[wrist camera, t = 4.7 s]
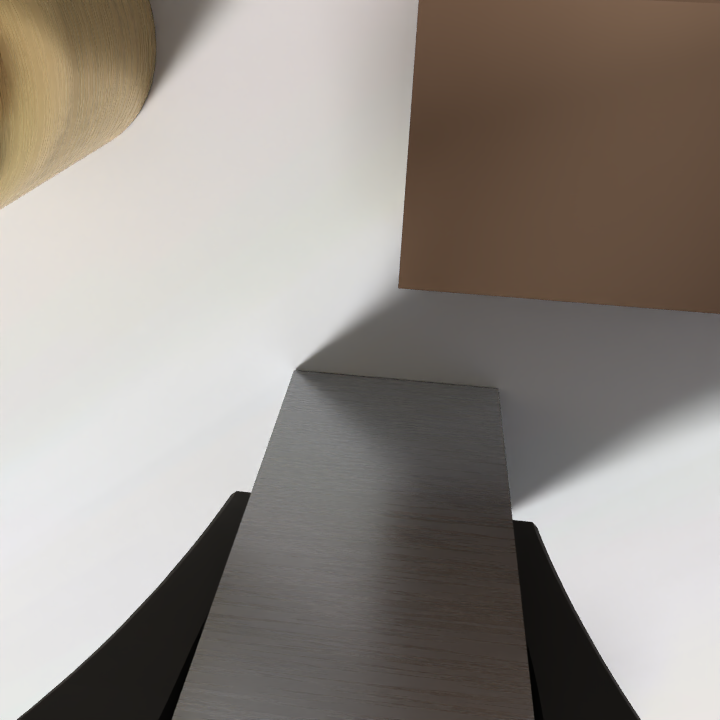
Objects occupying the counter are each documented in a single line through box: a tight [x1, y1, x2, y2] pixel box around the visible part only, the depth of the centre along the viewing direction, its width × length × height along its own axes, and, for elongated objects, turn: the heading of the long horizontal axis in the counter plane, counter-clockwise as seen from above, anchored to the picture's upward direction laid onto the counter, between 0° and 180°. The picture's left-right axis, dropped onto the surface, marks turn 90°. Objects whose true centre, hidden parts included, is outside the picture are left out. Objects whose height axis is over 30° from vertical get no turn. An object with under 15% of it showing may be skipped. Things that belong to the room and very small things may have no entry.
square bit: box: [172, 370, 534, 720], centre depth 11 cm, size 4×4×8 cm
